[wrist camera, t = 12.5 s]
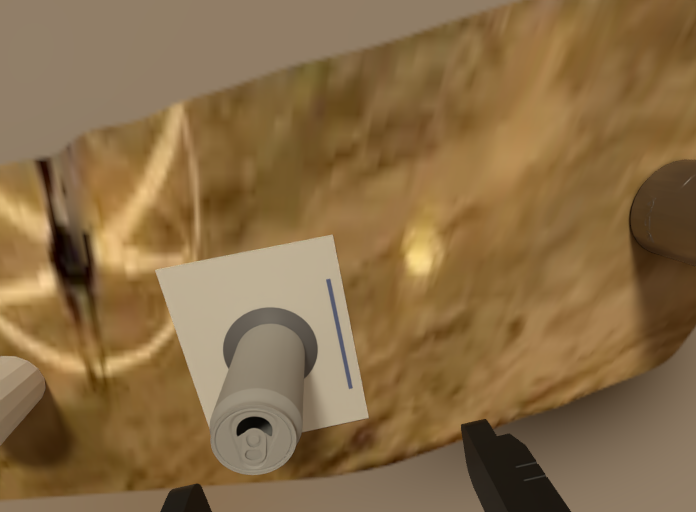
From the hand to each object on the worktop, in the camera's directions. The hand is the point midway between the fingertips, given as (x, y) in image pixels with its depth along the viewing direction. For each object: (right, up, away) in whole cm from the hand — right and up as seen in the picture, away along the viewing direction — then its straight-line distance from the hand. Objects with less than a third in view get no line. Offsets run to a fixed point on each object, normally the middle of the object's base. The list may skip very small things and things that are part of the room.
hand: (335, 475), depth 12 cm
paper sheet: (-7, -2, +26) cm, 27 cm away
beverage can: (-7, -2, +26) cm, 27 cm away
